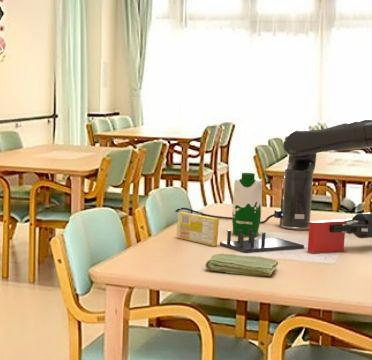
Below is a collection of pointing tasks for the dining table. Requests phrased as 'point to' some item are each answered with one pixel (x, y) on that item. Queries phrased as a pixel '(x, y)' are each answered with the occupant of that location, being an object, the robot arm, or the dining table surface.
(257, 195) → the milk carton
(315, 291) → the dining table surface
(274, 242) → the dish rack
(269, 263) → the washcloth
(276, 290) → the dining table surface
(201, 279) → the dining table surface
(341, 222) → the red rectangular block
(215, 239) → the candy box
